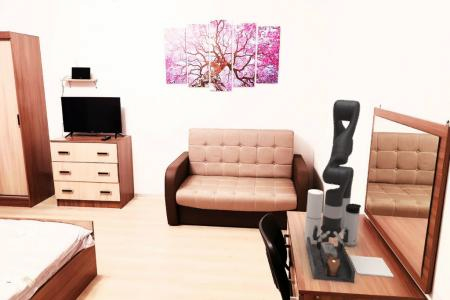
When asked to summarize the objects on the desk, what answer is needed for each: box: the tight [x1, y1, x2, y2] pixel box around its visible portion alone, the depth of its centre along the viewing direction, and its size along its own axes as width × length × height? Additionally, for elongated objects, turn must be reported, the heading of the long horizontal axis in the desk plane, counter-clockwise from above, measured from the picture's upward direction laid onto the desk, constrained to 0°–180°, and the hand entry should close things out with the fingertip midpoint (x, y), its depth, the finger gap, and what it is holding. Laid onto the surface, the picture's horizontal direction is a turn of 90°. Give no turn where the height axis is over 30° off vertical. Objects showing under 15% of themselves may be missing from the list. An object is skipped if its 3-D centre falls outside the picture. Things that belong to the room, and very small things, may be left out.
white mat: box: [348, 255, 395, 278], centre depth 139 cm, size 14×14×1 cm
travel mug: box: [342, 203, 362, 247], centre depth 156 cm, size 6×7×20 cm
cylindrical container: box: [304, 189, 324, 244], centre depth 159 cm, size 7×7×25 cm
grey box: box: [321, 241, 337, 262], centre depth 140 cm, size 9×5×5 cm, turn 173°
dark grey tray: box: [305, 237, 356, 283], centre depth 141 cm, size 26×15×8 cm, turn 173°
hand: (329, 249), depth 140 cm, fingers open, 8 cm apart
